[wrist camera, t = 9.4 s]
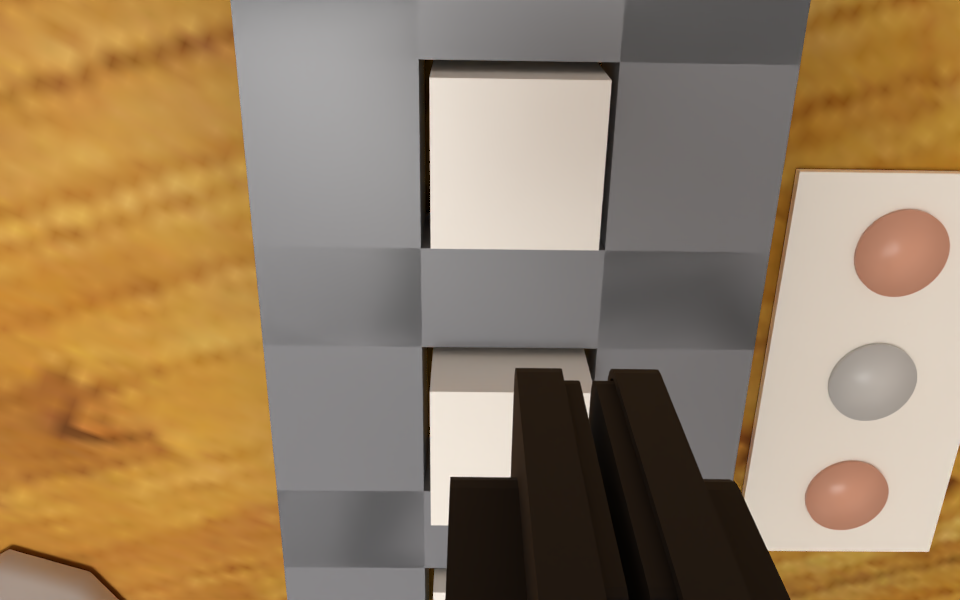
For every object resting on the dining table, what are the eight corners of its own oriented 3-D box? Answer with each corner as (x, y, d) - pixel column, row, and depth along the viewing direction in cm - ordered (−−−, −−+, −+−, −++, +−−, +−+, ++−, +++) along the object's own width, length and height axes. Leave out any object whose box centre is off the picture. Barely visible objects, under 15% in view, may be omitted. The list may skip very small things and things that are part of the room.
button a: (592, 56, 25) (611, 80, 21) (582, 207, 26) (598, 250, 23) (434, 54, 25) (429, 77, 21) (435, 205, 26) (430, 248, 23)
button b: (579, 332, 27) (595, 393, 24) (571, 454, 29) (584, 526, 25) (434, 331, 27) (429, 391, 24) (435, 453, 29) (431, 525, 25)
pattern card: (1029, 172, 26) (1039, 176, 26) (925, 546, 32) (931, 555, 32) (796, 168, 26) (802, 173, 26) (733, 545, 32) (737, 554, 32)
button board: (777, -50, 24) (817, -43, 21) (674, 667, 34) (691, 733, 32) (253, -58, 24) (225, -53, 21) (313, 666, 34) (300, 733, 32)
